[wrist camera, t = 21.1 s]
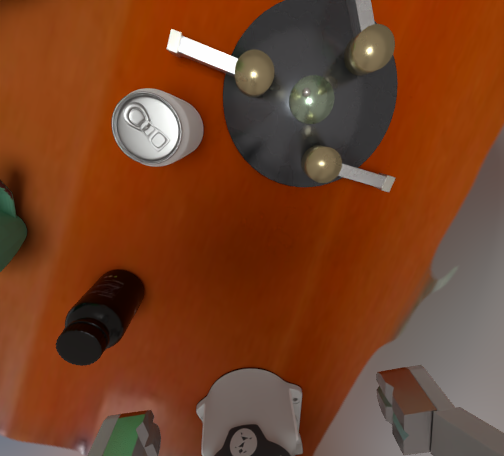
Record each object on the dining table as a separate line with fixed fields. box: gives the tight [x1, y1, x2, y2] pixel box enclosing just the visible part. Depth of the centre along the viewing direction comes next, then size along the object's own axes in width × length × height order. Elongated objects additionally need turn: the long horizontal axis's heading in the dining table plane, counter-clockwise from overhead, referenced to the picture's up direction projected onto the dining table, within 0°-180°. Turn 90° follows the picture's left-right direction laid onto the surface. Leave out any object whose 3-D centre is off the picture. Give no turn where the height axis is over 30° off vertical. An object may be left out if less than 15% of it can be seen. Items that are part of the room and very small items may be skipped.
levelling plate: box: [223, 0, 397, 187], centre depth 32 cm, size 20×20×3 cm
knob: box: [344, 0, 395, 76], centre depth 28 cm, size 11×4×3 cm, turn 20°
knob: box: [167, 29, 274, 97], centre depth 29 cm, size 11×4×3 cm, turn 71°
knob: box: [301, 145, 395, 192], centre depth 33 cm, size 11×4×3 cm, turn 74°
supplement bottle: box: [56, 270, 144, 366], centre depth 36 cm, size 7×7×12 cm
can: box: [112, 88, 203, 166], centre depth 28 cm, size 6×6×12 cm
